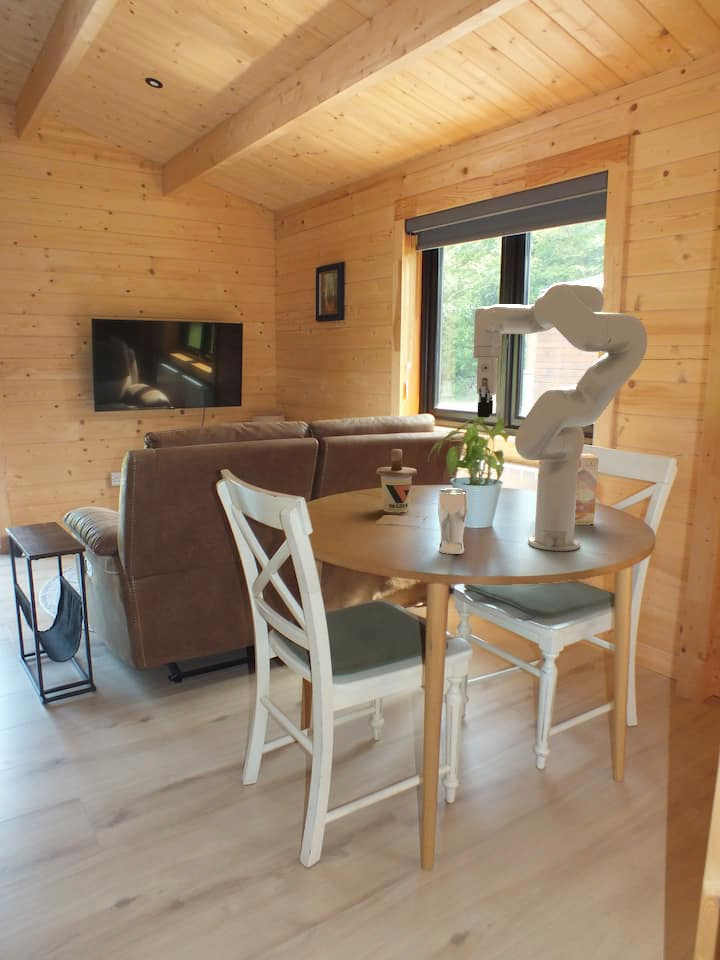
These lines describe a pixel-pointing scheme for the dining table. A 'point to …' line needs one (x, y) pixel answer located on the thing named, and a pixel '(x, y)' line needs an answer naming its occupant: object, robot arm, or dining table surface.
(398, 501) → the coffee cup
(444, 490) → the beer glass
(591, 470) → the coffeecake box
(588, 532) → the dining table surface
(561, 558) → the dining table surface
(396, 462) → the lid
